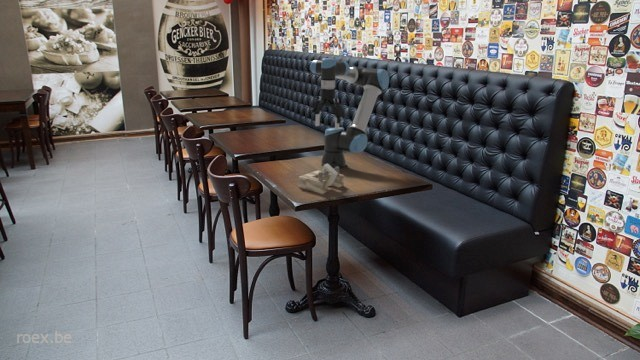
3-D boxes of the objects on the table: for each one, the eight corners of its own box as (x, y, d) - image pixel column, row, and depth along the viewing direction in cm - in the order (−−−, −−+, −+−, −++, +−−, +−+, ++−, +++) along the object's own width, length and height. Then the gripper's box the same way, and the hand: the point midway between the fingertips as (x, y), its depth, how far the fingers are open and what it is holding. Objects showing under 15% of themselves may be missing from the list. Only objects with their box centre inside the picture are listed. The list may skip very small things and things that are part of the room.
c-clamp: (320, 179, 265) (320, 161, 262) (343, 185, 256) (344, 167, 253) (298, 187, 252) (298, 168, 249) (322, 193, 242) (322, 174, 239)
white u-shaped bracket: (321, 175, 254) (327, 163, 249) (331, 185, 251) (338, 173, 246) (317, 176, 252) (324, 164, 247) (328, 186, 249) (334, 174, 244)
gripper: (305, 86, 259) (305, 125, 265) (342, 90, 244) (341, 131, 250) (314, 85, 264) (314, 123, 271) (351, 89, 249) (349, 129, 256)
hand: (327, 127), depth 260 cm, fingers open, 13 cm apart
